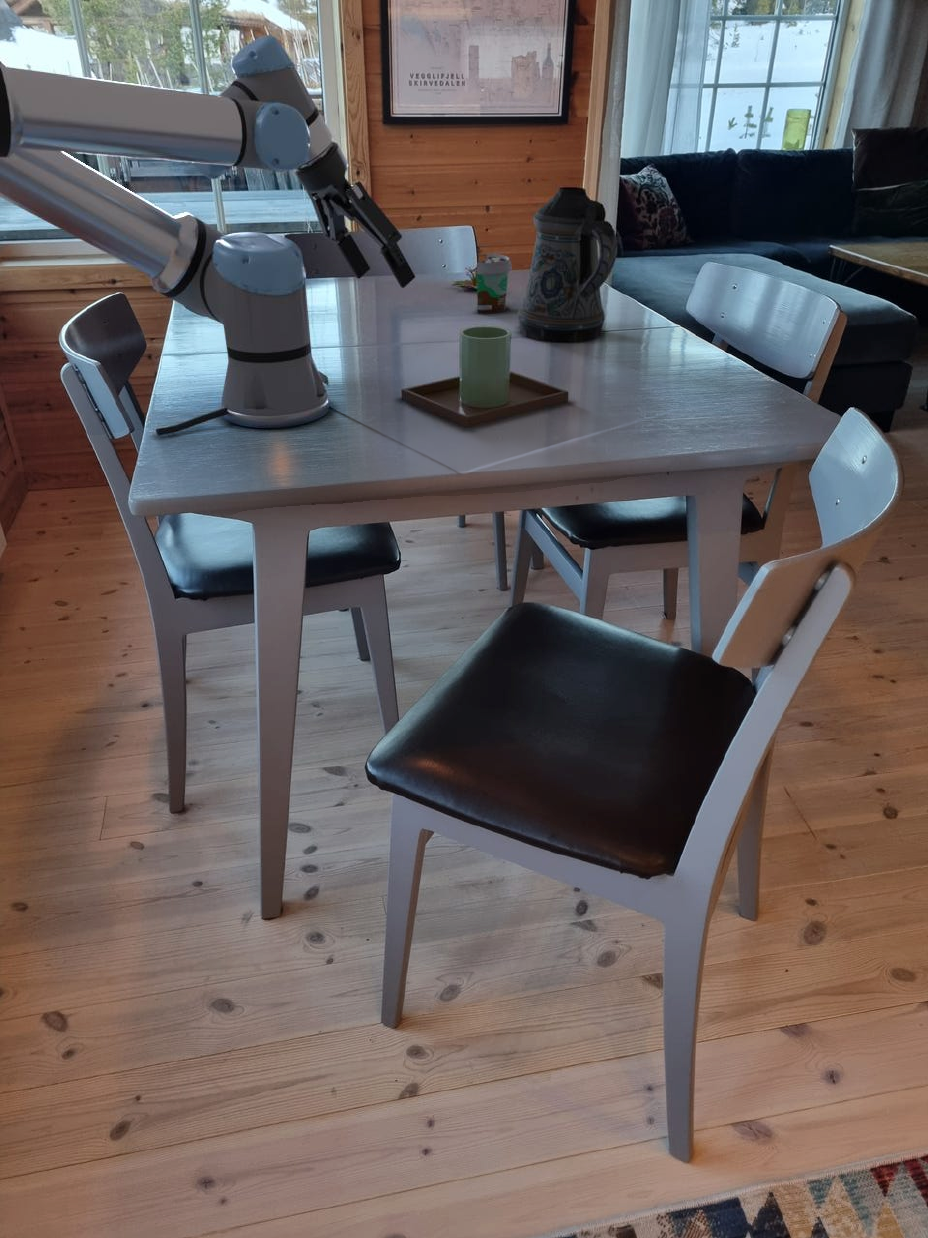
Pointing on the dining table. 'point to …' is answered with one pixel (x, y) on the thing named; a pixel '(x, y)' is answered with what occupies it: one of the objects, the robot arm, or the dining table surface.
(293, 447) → the dining table surface
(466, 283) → the lily flower
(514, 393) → the tray
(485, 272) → the food container
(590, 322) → the beer stein
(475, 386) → the cup
